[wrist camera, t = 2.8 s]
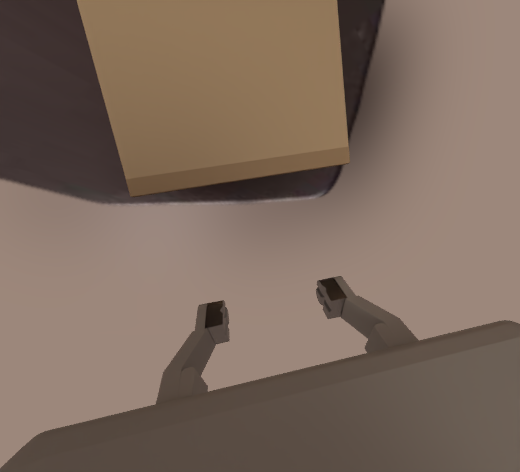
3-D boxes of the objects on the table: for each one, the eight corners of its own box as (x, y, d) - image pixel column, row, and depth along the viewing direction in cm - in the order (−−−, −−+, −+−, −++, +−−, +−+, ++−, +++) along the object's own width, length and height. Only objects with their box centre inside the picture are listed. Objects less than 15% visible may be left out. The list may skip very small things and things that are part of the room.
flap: (134, 197, 18) (130, 196, 17) (73, -25, 15) (66, -35, 14) (346, 164, 20) (349, 162, 19) (329, -41, 17) (333, -51, 16)
